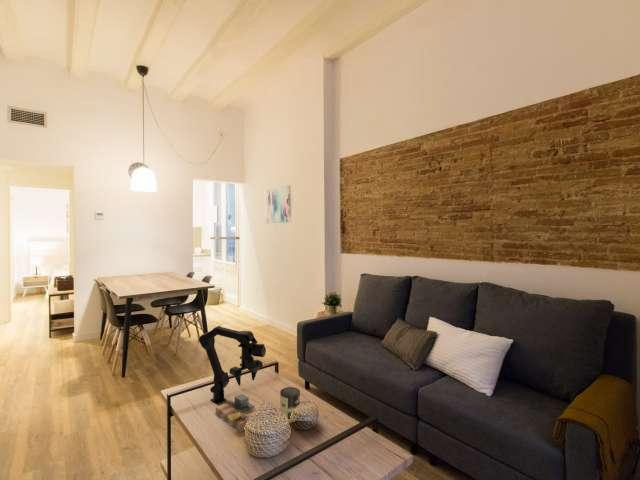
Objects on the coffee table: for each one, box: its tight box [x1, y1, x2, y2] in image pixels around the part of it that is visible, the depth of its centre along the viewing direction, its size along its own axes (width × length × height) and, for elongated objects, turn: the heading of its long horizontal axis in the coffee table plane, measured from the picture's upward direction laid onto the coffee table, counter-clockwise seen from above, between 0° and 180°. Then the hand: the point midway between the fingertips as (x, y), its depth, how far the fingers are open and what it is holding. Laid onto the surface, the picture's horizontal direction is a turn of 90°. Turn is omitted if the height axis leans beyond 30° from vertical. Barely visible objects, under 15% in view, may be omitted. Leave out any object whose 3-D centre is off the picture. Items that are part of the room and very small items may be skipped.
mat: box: [230, 402, 255, 414], centre depth 189 cm, size 10×10×1 cm
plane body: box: [214, 402, 250, 433], centre depth 175 cm, size 23×6×5 cm, turn 48°
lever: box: [228, 412, 244, 420], centre depth 169 cm, size 5×1×6 cm
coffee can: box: [279, 386, 301, 419], centre depth 179 cm, size 10×10×14 cm
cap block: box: [233, 393, 250, 410], centre depth 189 cm, size 6×5×5 cm
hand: (246, 382), depth 191 cm, fingers open, 9 cm apart
